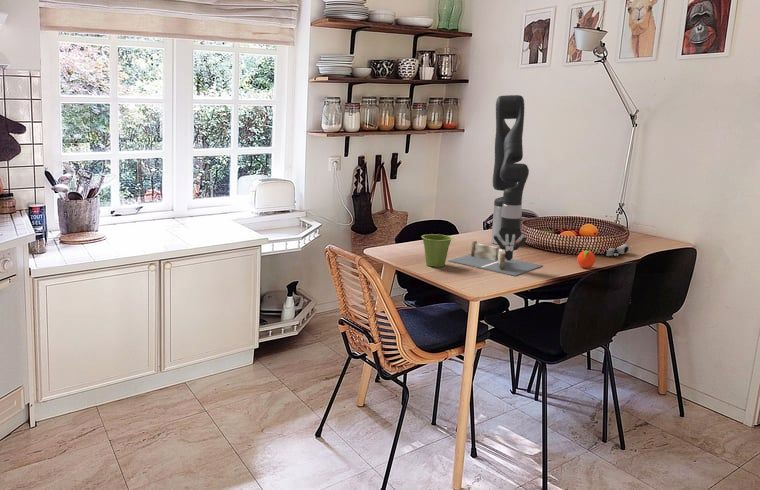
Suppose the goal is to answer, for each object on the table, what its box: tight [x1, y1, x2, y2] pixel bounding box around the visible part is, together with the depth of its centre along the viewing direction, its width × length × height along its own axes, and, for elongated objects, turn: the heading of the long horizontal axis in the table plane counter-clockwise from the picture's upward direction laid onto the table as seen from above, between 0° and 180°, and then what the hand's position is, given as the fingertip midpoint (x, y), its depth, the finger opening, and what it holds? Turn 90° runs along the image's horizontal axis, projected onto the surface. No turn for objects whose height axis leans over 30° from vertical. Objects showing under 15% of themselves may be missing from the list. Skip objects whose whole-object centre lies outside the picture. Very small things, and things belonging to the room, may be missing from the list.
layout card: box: [448, 253, 543, 277], centre depth 266 cm, size 22×30×1 cm
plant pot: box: [421, 233, 453, 268], centre depth 259 cm, size 12×12×11 cm
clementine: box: [576, 249, 597, 269], centre depth 264 cm, size 8×7×7 cm
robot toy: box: [603, 243, 633, 257], centre depth 290 cm, size 12×4×15 cm
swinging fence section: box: [497, 245, 505, 269], centre depth 262 cm, size 14×2×6 cm, turn 174°
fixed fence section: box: [470, 240, 498, 261], centre depth 272 cm, size 12×2×6 cm, turn 50°
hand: (508, 259), depth 258 cm, fingers closed
